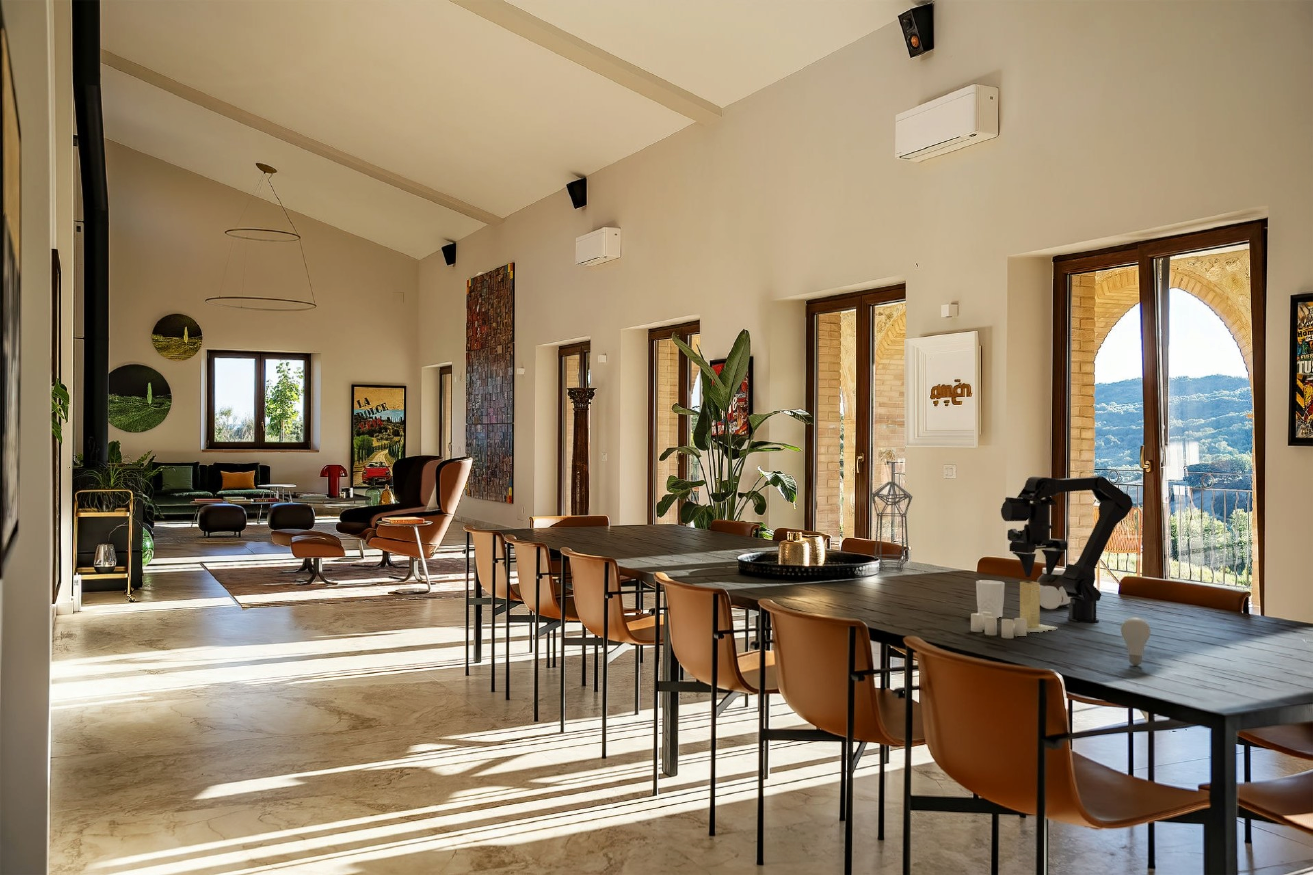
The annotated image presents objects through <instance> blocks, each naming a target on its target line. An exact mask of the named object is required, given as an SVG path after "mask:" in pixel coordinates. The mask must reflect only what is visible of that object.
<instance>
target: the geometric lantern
mask: <svg viewBox="0 0 1313 875" xmlns="http://www.w3.org/2000/svg"><path fill="white" fill-rule="evenodd" d="M888 486H889V488H888V490H887V493H886V494H884V493H883V494H882V492H883V491H884V490H885V489H886V488H887V487H888ZM895 487H897V489H898V490H900V491H901V492H902V493H899V494H898V493H897V491H896V488H895ZM891 492H892V493H891ZM870 495H871V496H872V497H871V499H872V503H873V506H874V510H875V513H876V519H877V520H876V530H875V531H876V534H875V548H874V560H875V559H879V561H880V563H879V567H880V568H879V569H880V570H881V571H882V570H883V571H889V570H890V571H903V570H904V565H905V563H906V562H907V561H909V560H910V559H909V558H910V557H909V555H910V554H909V539H908V538H909V537H908V523H907V522H908V521H907V515H908V511H909V506H910V505H911V502H912V499H913V495H911V493H910V492H908V491H907V490H905V489H904V488H903V487H902V486H900V485H899V484H898V483H896V481H893V480H892V481H887V482H885V483H884V484H883V485H882V486H880V487H879V488H876V490H875V491H872V493H870ZM890 496H891V497H890ZM876 498H877V499H879V500H880V501H882V502H883V503H884V506H883V509H882V510H881V512H880V509H879V505H878V503H877V502H876ZM906 499H907V500H908V501H907V504H906V508H905V511H903V510H902V508H901V507H900V505H899V503H901V502H903V501H905V500H906ZM890 500H892V501H890ZM889 506H895V508H896V510H897V511H898V512H885V511H886V510H887V508H889ZM899 509H900V510H899ZM897 515H898V517H900V519H901V522H900V523H901V554H882V532H883V517H897ZM904 528H905V529H904ZM904 530H905V538H904ZM878 531H879V532H878ZM878 534H879V550H878V554H877V548H878V547H877V546H878ZM904 539H905V541H904ZM904 542H905V544H904ZM905 546H906V547H905ZM905 548H906V555H905ZM883 557H900V558H883ZM885 560H887V561H885ZM893 563H894V564H893ZM895 563H896V564H895Z"/></svg>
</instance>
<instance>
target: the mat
mask: <svg viewBox="0 0 1313 875" xmlns="http://www.w3.org/2000/svg"><path fill="white" fill-rule="evenodd" d="M1056 629H1058V627H1057V626H1052V625H1047V624H1042V623H1040V625H1039V627H1034V628H1028V627H1027V633H1030V632H1039V633H1044V632H1043V631H1045V632H1049V631H1048V630H1052V631H1057V630H1056Z"/></svg>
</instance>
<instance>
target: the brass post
mask: <svg viewBox="0 0 1313 875" xmlns="http://www.w3.org/2000/svg"><path fill="white" fill-rule="evenodd" d="M1040 606H1041V605H1040V583H1038V582H1037V581H1030V580H1028V581H1027V580H1026V581H1020V582H1019V618H1025V619H1027V627H1028V628H1034V627H1039V625H1040V624H1041V623H1040V622H1041V621H1040V615H1041V614H1040V610H1041V608H1040Z"/></svg>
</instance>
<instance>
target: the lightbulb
mask: <svg viewBox="0 0 1313 875" xmlns="http://www.w3.org/2000/svg"><path fill="white" fill-rule="evenodd" d="M1120 632H1121V633H1120V634H1121V636H1122V638H1123V640H1124V641H1125V643H1126V647H1127V653H1128V659H1129V663H1130V664H1132V665H1133V666H1134V667H1138V666H1139V665H1141V664H1142V662H1143V655H1144V648H1145V646H1146V643H1147V642H1148V641H1149V639H1150V637H1151V628H1150V626H1149V624H1148V623H1147V621H1145V620H1144V619H1142V618H1140V617H1130V618H1127V619H1126V620H1124V621H1123V623H1122V625H1121V626H1120Z"/></svg>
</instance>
